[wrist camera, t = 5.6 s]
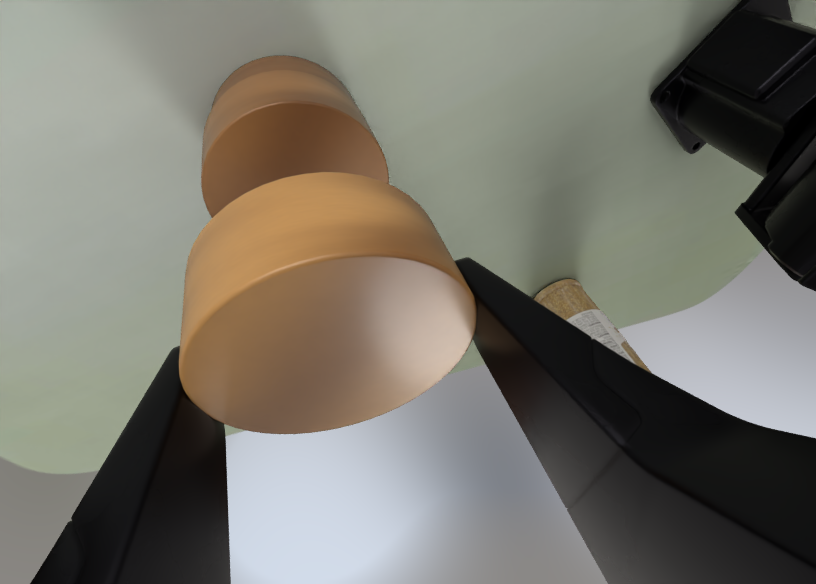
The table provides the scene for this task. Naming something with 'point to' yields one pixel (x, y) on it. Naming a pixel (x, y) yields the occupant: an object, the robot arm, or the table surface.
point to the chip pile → (283, 130)
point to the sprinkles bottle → (585, 316)
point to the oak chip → (319, 306)
